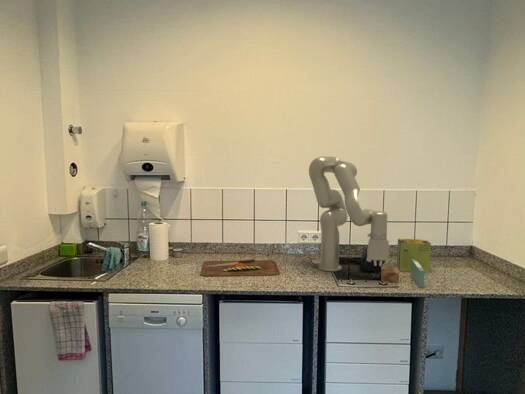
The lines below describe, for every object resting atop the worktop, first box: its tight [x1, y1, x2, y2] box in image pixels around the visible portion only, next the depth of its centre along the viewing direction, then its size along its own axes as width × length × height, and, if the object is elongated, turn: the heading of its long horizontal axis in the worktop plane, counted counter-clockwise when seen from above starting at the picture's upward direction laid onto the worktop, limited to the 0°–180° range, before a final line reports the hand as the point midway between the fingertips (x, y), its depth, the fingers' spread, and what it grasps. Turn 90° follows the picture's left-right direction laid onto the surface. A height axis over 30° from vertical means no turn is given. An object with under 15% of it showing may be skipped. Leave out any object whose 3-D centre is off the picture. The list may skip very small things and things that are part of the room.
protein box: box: [396, 238, 432, 274], centre depth 212 cm, size 10×15×16 cm
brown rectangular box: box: [380, 265, 400, 284], centre depth 196 cm, size 8×10×5 cm
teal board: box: [410, 259, 425, 289], centre depth 193 cm, size 2×20×8 cm, turn 170°
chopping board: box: [195, 258, 285, 278], centre depth 211 cm, size 45×27×3 cm, turn 95°
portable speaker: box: [360, 245, 379, 272], centre depth 217 cm, size 25×10×10 cm, turn 162°
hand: (377, 273), depth 196 cm, fingers closed
